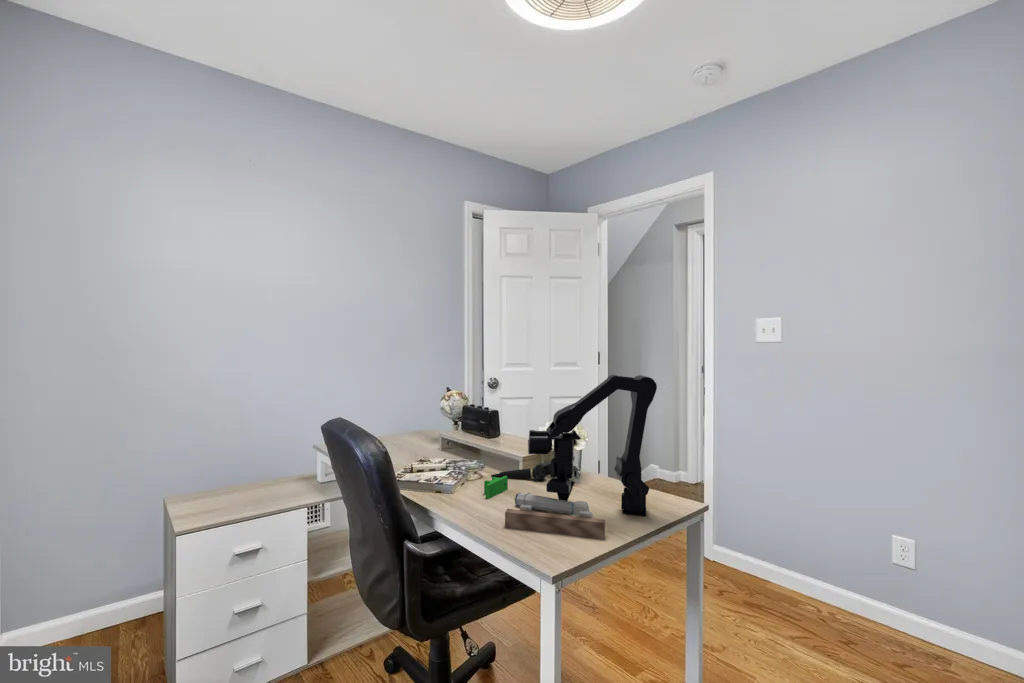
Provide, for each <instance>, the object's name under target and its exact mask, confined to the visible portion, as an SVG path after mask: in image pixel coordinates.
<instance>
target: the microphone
mask: <svg viewBox="0 0 1024 683" xmlns="http://www.w3.org/2000/svg"><path fill="white" fill-rule="evenodd" d="M490 476H491V478H492V477H497V478H501V477H503V476H508V479H524V480H525V479H534V480H536V481H538V482H541V481H543V480H544V479H546V478H547V476H544V477H541V478H540V479H537V478H536V475H534V470H533V468H531V467H530V468H522V469H513V470H507V471H504V470H503V471H501V472H499V473H495V474H491V475H490Z"/></svg>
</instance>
